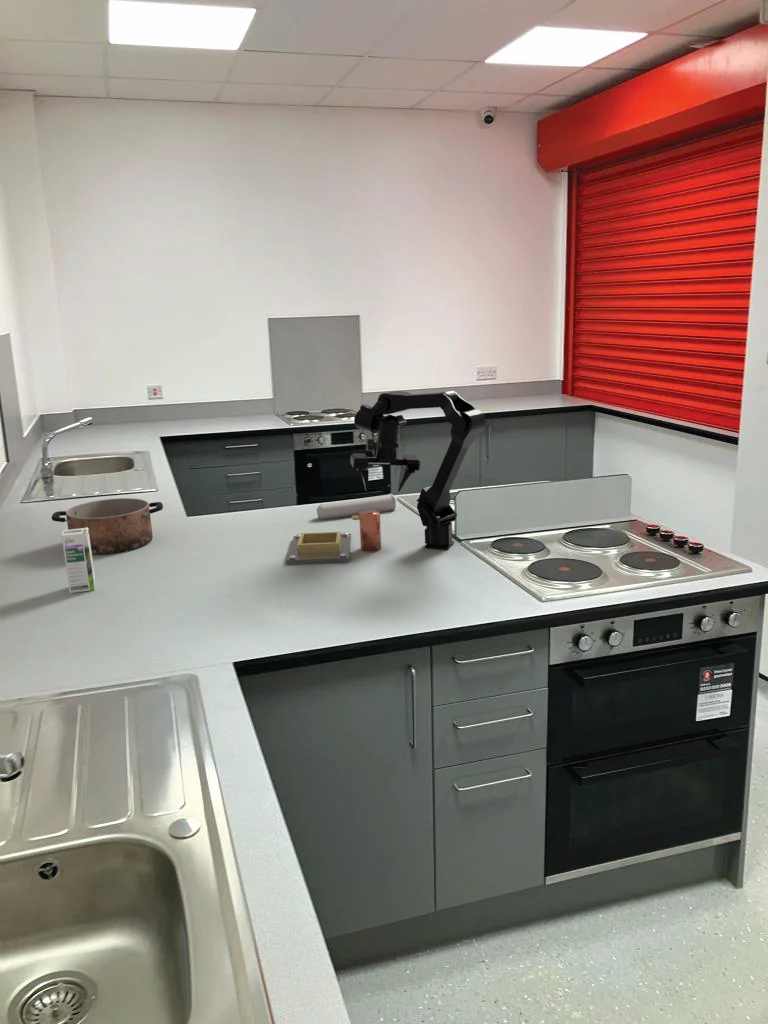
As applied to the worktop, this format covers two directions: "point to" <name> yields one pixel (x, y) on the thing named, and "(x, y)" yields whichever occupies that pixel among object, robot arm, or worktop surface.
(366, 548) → the copper cylinder
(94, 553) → the cooking pot
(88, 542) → the syrup box
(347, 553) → the gray mounting plate
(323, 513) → the tube
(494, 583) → the worktop surface
